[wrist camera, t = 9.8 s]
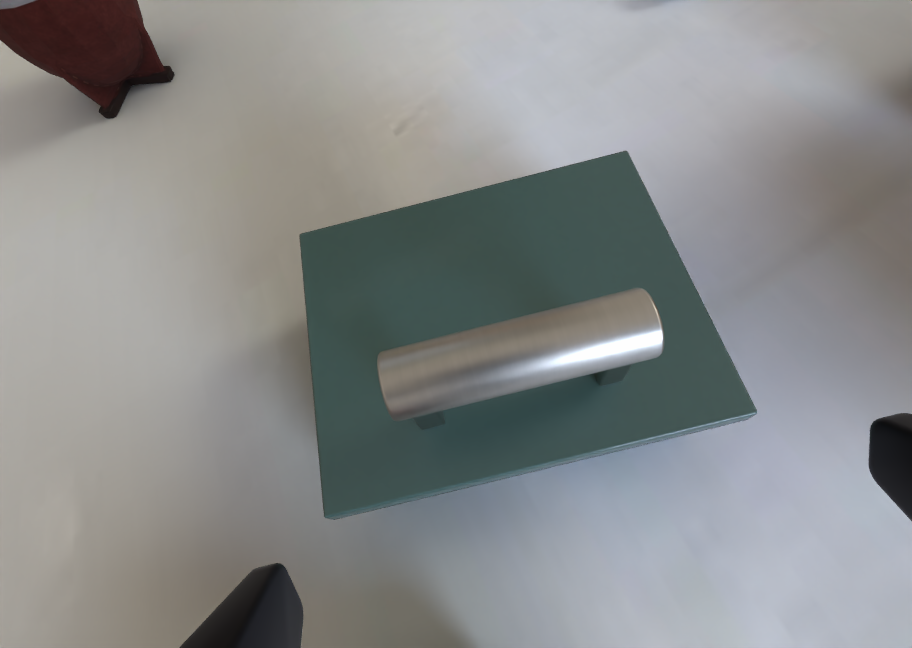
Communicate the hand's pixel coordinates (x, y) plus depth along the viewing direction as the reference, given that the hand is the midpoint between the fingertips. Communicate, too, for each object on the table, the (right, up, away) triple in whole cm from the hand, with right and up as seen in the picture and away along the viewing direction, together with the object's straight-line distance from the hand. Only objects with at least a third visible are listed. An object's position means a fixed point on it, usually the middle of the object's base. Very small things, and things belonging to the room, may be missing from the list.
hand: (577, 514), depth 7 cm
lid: (-1, +3, +8) cm, 9 cm away
